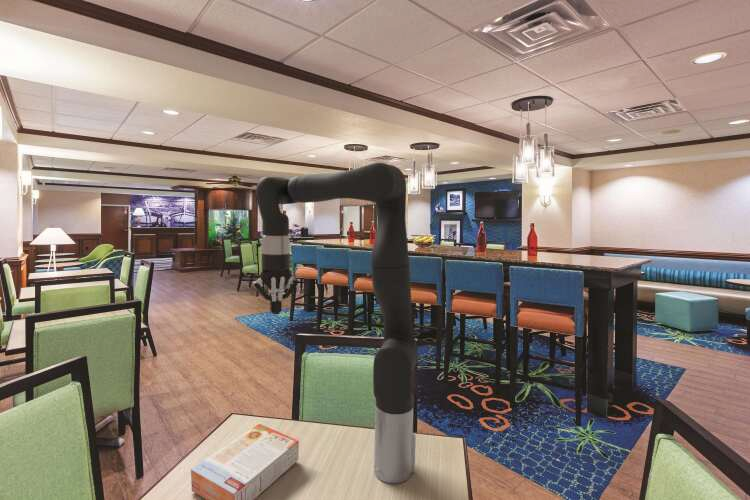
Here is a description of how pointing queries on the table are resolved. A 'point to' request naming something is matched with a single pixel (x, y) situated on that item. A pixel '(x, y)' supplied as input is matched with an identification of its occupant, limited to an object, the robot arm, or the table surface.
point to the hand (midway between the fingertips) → (275, 313)
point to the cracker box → (245, 465)
